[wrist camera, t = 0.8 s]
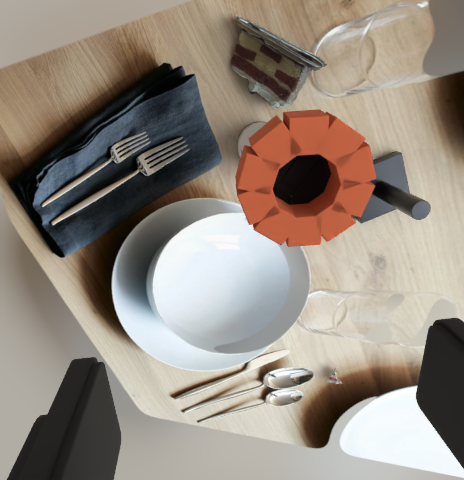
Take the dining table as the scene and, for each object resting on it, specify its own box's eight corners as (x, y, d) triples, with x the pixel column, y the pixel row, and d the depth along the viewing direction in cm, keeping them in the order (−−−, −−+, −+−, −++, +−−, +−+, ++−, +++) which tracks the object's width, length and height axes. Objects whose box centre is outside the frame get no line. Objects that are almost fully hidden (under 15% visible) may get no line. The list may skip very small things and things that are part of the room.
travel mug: (292, 135, 49) (350, 161, 31) (265, 176, 51) (306, 224, 33) (254, 110, 48) (292, 122, 29) (228, 153, 49) (249, 190, 31)
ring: (217, 139, 29) (217, 147, 27) (346, 86, 28) (358, 90, 25) (261, 248, 34) (265, 263, 32) (372, 208, 33) (385, 222, 30)
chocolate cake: (208, 71, 46) (270, 121, 41) (230, 11, 42) (303, 59, 37) (255, 81, 52) (313, 125, 47) (278, 30, 48) (344, 73, 43)
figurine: (368, 390, 64) (370, 375, 64) (364, 399, 61) (367, 383, 60) (303, 370, 70) (305, 356, 69) (296, 377, 66) (298, 362, 66)
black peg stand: (343, 172, 52) (382, 193, 41) (396, 150, 52) (448, 166, 41) (356, 220, 55) (395, 250, 45) (406, 200, 55) (457, 226, 44)
